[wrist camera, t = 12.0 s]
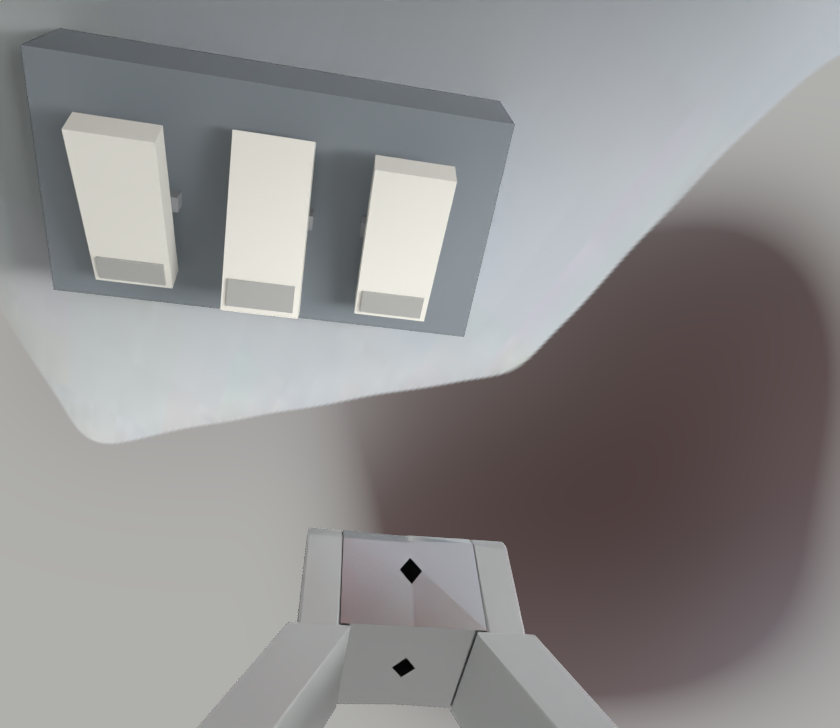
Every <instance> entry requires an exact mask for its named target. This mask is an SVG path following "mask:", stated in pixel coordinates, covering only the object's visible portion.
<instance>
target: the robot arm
mask: <svg viewBox="0 0 840 728" xmlns="http://www.w3.org/2000/svg"><path fill="white" fill-rule="evenodd" d="M336 704H398V705H413V706H428V707H443V708H451V710H450V711H451V713H452V714H453V716H454V718H455V719H456V721H457V723H458V724H459V726H460V727H461V728H618V727H617V726H616V725H615V724H614V723H613V722H612V720H611V719H610V718H609V717H608V716H607V715H606V714H605V713H604V711H603V710H602V709H601V708H600V707H599V706H598V705H597V704H596V703H595V701H594V700H593V699H592V698H591V697H590V696H589V695H588V694H587V693H586V692H585V690H584V689H583V688H582V687H581V686H580V685H579V684H578V683H577V682H576V680H575V679H574V678H573V677H572V676H571V675H570V674H569V673H568V671H567V670H566V669H565V668H564V667H563V666H562V665H561V664H560V663H559V661H557V659H556V658H555V657H554V656H553V655H552V654H551V653H550V651H549V650H548V649H547V648H546V647H545V646H544V645H543V644H542V643H541V641H540V640H539V639H538V638H537V637H536V636H535V635H528V634H525V631H524V627H523V622H522V618H521V614H520V608H519V604H518V599H517V595H516V590H515V586H514V581H513V576H512V572H511V567H510V563H509V558H508V553H507V549H506V546H505V545H504V544H503V542H496V541H481V540H470V541H469V540H468V539H454V538H436V537H420V536H396V535H386V534H375V533H365V532H355V531H345V530H343V532H342V531H340V530H329V529H318V528H309V529H308V534H307V541H306V549H305V557H304V566H303V575H302V584H301V592H300V602H299V609H298V619H297V622H288V623H287V624H286V625H285V627H284V628H283V629H282V630H281V631H280V632H279V633H278V634H277V636H276V637H275V638H274V639H273V640H272V641H271V643H270V644H269V645H268V646H267V647H266V648H265V649H264V651H263V652H262V653H261V654H260V655H259V656H258V658H257V659H256V660H255V661H254V662H253V664H252V665H251V666H250V667H249V668H248V669H247V670H246V672H245V673H244V674H243V675H242V676H241V677H240V678H239V680H238V681H237V682H236V683H235V684H234V686H233V687H232V688H231V689H230V690H229V692H227V694H226V695H225V696H224V697H223V698H222V699H221V701H220V702H219V703H218V704H217V705H216V707H214V709H213V710H212V711H211V712H210V713H209V715H208V716H207V717H206V718H205V719H204V720H203V721H202V723H201V724H200V725H199V726H198V727H197V728H323V727H324V726H325V724H326V723H327V721H328V719H329V718H330V716H331V715H332V713H333V712H334V710H335V708H336Z"/></svg>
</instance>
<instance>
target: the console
mask: <svg viewBox="0 0 840 728" xmlns="http://www.w3.org/2000/svg"><path fill="white" fill-rule="evenodd" d="M21 52H22V59H23V67H24V74H25V81H26V89H27V96H28V103H29V111H30V118H31V125H32V133H33V140H34V148H35V155H36V162H37V170H38V177H39V184H40V192H41V199H42V206H43V214H44V221H45V228H46V236H47V243H48V250H49V258H50V265H51V273H52V280H53V287H54V290H62V291H71V292H79V293H88V294H97V295H105V296H114V297H123V298H132V299H140V300H149V301H158V302H166V303H175V304H184V305H192V306H201V307H210V308H218V309H220V305H221V290H222V276H223V261H224V246H225V232H226V217H227V203H228V188H229V173H230V159H231V144H232V129H233V130H240V131H247V132H253V133H260V134H266V135H273V136H280V137H286V138H293V139H299V140H306V141H313V142H316V150H315V161H314V171H313V181H312V191H311V201H310V211H309V222H308V232H307V242H306V252H305V262H304V273H303V283H302V293H301V303H300V313H299V317H298V318H305V319H314V320H323V321H331V322H340V323H349V324H357V325H366V326H375V327H383V328H392V329H401V330H409V331H418V332H427V333H435V334H444V335H453V336H462V337H464V335H465V331H466V326H467V322H468V318H469V314H470V310H471V305H472V301H473V297H474V293H475V289H476V284H477V280H478V276H479V272H480V268H481V263H482V259H483V255H484V251H485V247H486V242H487V238H488V234H489V230H490V226H491V221H492V217H493V213H494V209H495V205H496V200H497V196H498V192H499V188H500V184H501V179H502V175H503V171H504V167H505V163H506V158H507V154H508V150H509V146H510V142H511V137H512V133H513V129H514V125H515V124H514V123H513V121H512V120H511V118H510V117H509V115H508V113H507V112H506V110H505V109H504V107H503V106H502V104H501V103H500V101H495V100H489V99H483V98H477V97H471V96H465V95H459V94H453V93H447V92H441V91H435V90H429V89H423V88H417V87H411V86H405V85H399V84H393V83H387V82H381V81H374V80H368V79H362V78H356V77H350V76H344V75H338V74H332V73H326V72H320V71H314V70H308V69H302V68H296V67H290V66H284V65H278V64H272V63H266V62H260V61H254V60H248V59H242V58H236V57H230V56H224V55H218V54H212V53H206V52H200V51H193V50H187V49H181V48H175V47H169V46H163V45H157V44H151V43H145V42H139V41H133V40H127V39H121V38H115V37H109V36H103V35H97V34H91V33H85V32H79V31H73V30H67V29H61V28H60V29H58V30H55V31H53V32H50V33H48V34H46V35H43V36H41V37H38V38H36V39H33V40H31V41H28V42H26V43H24V44H21ZM72 112H77V113H83V114H90V115H97V116H103V117H110V118H117V119H123V120H130V121H137V122H143V123H150V124H157V125H163V133H164V142H165V151H166V160H167V170H168V179H169V188H170V197H171V207H172V216H173V225H174V234H175V243H176V253H177V262H178V273H177V276H176V279H175V282H174V285H173V288H164V287H155V286H147V285H138V284H130V283H121V282H113V281H104V280H96V278H95V274H94V269H93V265H92V260H91V256H90V252H89V247H88V243H87V239H86V234H85V230H84V225H83V221H82V217H81V212H80V208H79V204H78V199H77V195H76V190H75V186H74V182H73V177H72V173H71V169H70V164H69V160H68V155H67V151H66V147H65V142H64V138H63V134H62V127H63V126H64V124H65V123H66V121H67V119H68V118H69V116H70V115H71V113H72ZM375 155H381V156H387V157H394V158H401V159H407V160H414V161H421V162H427V163H434V164H441V165H447V166H454V167H455V169H456V177H457V185H456V189H455V193H454V197H453V201H452V206H451V210H450V214H449V218H448V222H447V227H446V231H445V235H444V239H443V243H442V248H441V252H440V256H439V260H438V264H437V269H436V273H435V277H434V281H433V285H432V290H431V294H430V298H429V302H428V306H427V311H426V315H425V319H424V322H423V321H415V320H406V319H398V318H389V317H381V316H372V315H363V314H355V313H354V309H355V295H356V288H357V281H358V274H359V267H360V260H361V253H362V246H363V239H364V232H365V225H366V218H367V211H368V204H369V197H370V190H371V183H372V176H373V169H374V162H375Z"/></svg>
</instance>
